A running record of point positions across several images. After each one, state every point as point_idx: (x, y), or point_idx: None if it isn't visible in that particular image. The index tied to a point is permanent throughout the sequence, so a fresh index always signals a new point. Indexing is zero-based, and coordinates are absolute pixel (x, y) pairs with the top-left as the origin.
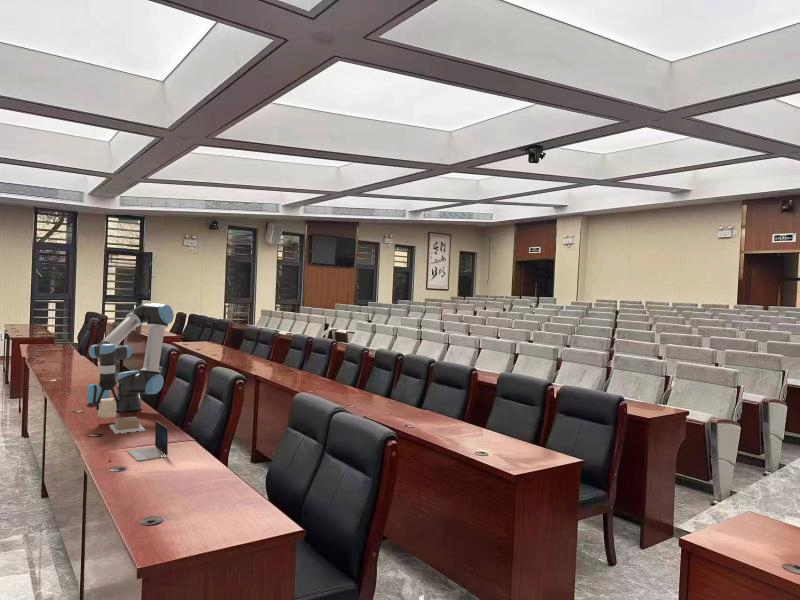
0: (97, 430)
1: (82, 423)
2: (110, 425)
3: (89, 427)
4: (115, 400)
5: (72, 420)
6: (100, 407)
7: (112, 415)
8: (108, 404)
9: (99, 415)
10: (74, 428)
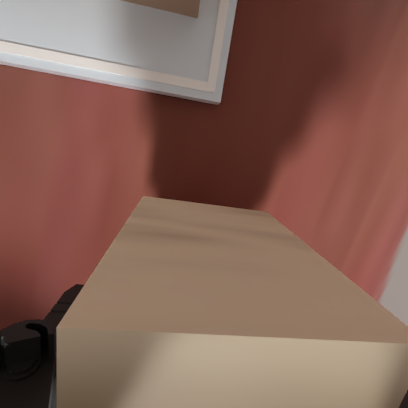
0: (333, 27)
1: None
2: (222, 71)
3: (329, 175)
4: (65, 322)
5: None
6: None
7: (171, 203)
8: (238, 274)
9: None
10: (403, 202)
